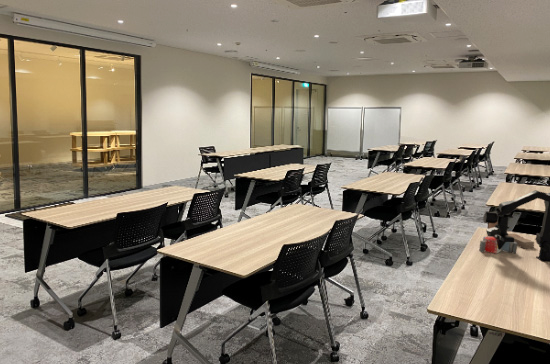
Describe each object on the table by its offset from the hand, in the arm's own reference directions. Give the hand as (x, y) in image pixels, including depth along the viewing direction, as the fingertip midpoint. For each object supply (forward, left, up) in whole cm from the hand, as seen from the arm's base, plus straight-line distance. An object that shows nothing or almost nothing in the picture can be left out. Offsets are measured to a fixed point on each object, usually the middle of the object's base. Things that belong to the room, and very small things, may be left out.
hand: (499, 249), depth 254 cm
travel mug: (+24, -8, -4) cm, 26 cm away
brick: (+24, -25, -4) cm, 35 cm away
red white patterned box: (+8, 0, -4) cm, 9 cm away
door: (+10, -4, -4) cm, 11 cm away
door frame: (+6, -3, -4) cm, 8 cm away
